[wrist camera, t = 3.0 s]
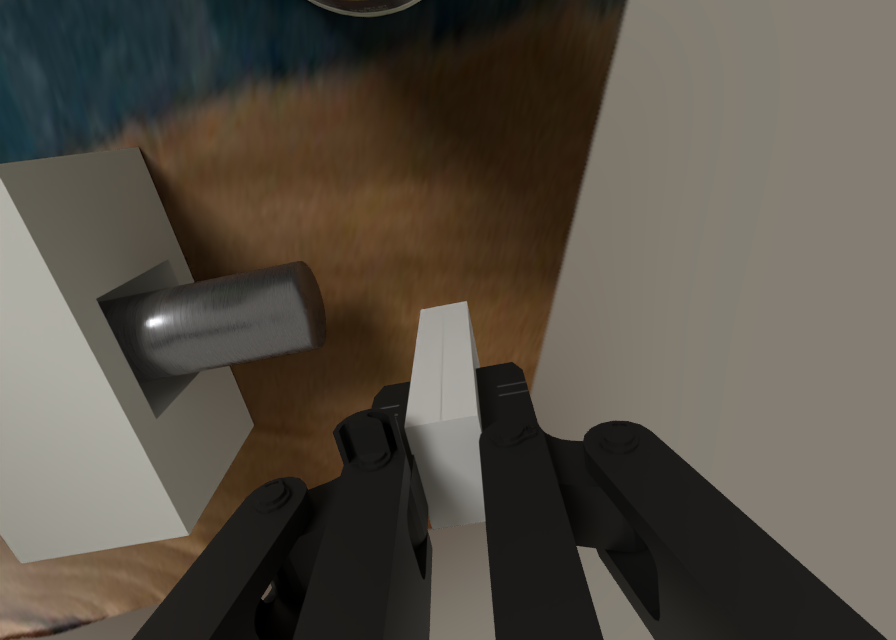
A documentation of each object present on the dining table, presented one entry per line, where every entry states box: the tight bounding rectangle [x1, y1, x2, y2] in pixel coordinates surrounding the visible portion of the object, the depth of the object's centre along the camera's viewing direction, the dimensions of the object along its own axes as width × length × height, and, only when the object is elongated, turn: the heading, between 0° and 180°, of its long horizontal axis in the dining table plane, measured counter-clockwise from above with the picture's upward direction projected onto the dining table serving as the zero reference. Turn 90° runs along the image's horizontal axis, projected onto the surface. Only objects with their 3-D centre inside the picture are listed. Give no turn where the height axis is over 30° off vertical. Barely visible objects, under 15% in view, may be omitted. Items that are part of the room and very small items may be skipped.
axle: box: [98, 261, 326, 383], centre depth 23 cm, size 17×4×4 cm, turn 101°
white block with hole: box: [0, 147, 254, 564], centre depth 23 cm, size 8×16×8 cm, turn 11°
